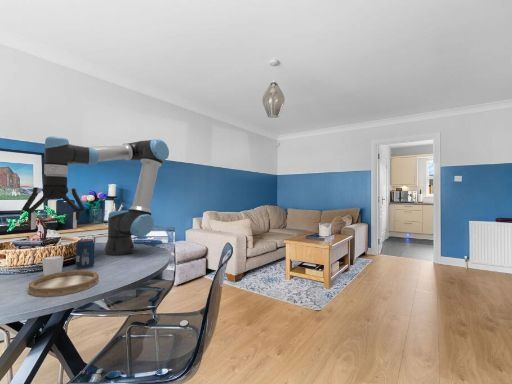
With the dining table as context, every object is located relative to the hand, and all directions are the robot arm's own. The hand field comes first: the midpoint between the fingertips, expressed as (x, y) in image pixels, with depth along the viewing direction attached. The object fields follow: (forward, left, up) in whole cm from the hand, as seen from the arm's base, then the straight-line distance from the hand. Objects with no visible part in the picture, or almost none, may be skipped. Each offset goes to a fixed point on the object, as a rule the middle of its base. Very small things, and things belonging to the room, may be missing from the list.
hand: (54, 228), depth 105 cm
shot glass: (0, 0, -19) cm, 19 cm away
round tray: (-2, +17, -19) cm, 25 cm away
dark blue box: (-12, -5, -19) cm, 23 cm away
